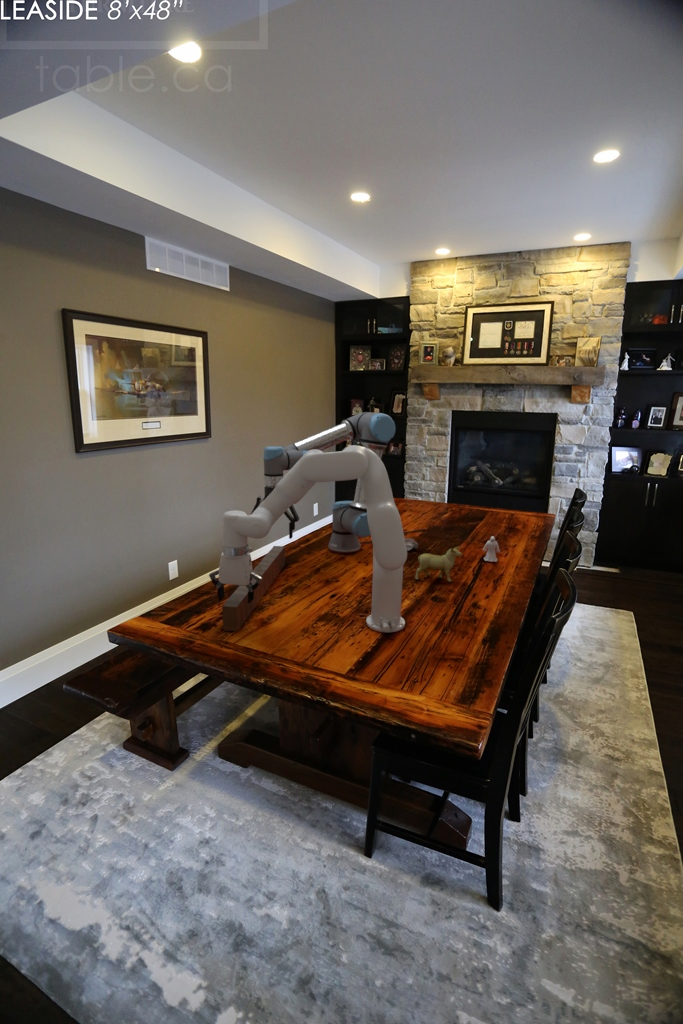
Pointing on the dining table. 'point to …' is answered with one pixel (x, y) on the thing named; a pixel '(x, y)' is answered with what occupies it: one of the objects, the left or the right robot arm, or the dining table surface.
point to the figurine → (491, 550)
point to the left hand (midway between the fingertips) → (274, 536)
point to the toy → (438, 563)
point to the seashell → (411, 543)
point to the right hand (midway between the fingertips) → (235, 600)
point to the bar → (237, 603)
